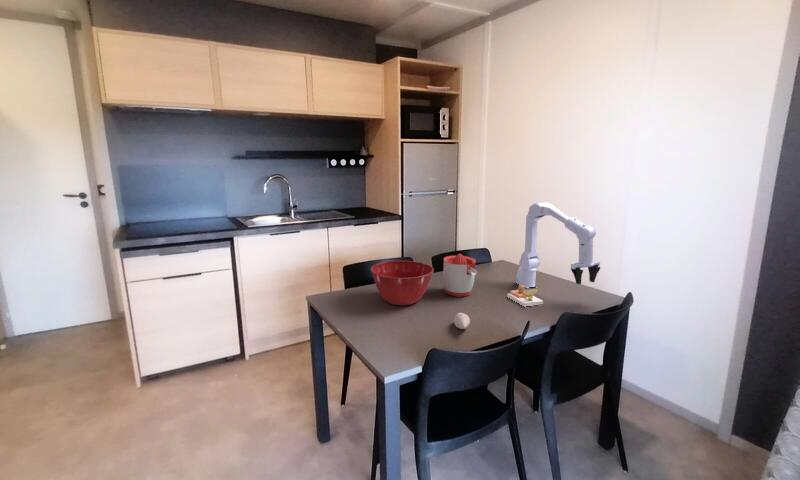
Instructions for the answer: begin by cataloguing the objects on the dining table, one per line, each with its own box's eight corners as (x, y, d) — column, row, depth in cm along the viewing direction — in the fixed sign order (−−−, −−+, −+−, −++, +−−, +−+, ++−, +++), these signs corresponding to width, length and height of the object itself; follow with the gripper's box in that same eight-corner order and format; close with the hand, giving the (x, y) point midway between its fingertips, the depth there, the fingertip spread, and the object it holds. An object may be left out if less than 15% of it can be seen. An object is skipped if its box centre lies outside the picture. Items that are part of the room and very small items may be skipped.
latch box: (507, 297, 184) (507, 293, 184) (524, 295, 188) (524, 291, 187) (524, 307, 172) (524, 303, 172) (542, 305, 176) (543, 300, 175)
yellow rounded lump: (518, 297, 179) (519, 287, 178) (529, 296, 181) (529, 286, 180) (526, 301, 174) (527, 291, 173) (536, 300, 176) (537, 290, 175)
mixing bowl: (357, 299, 177) (357, 267, 174) (400, 285, 198) (400, 256, 195) (403, 318, 159) (404, 282, 155) (444, 300, 179) (446, 268, 176)
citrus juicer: (462, 302, 177) (465, 260, 173) (435, 292, 190) (436, 252, 185) (483, 294, 187) (486, 255, 183) (456, 285, 200) (458, 248, 195)
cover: (510, 293, 184) (510, 283, 183) (522, 291, 187) (523, 282, 186) (519, 298, 178) (520, 288, 177) (531, 296, 180) (532, 287, 179)
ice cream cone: (463, 338, 141) (458, 327, 156) (476, 328, 141) (470, 318, 156) (452, 325, 141) (449, 315, 156) (466, 315, 141) (461, 306, 156)
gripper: (579, 256, 168) (578, 286, 170) (605, 253, 172) (605, 282, 174) (567, 253, 175) (567, 283, 176) (593, 251, 179) (592, 279, 181)
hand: (585, 282), depth 176 cm, fingers open, 7 cm apart
